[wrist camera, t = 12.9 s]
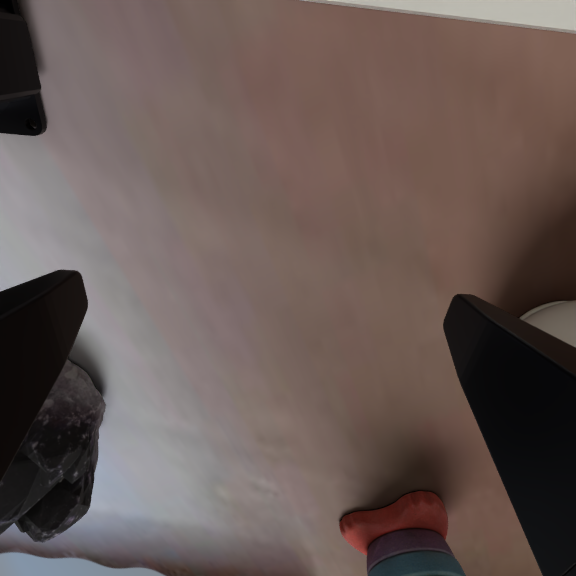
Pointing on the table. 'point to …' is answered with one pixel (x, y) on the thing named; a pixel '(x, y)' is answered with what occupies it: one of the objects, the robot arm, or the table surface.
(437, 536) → the stacking bear
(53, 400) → the dark rough rock
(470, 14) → the stone board
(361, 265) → the table surface
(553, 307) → the lidded jar
